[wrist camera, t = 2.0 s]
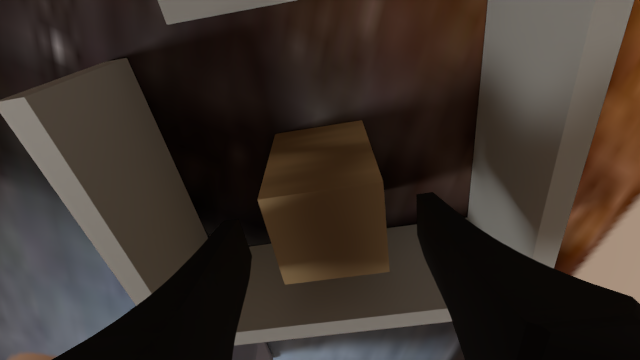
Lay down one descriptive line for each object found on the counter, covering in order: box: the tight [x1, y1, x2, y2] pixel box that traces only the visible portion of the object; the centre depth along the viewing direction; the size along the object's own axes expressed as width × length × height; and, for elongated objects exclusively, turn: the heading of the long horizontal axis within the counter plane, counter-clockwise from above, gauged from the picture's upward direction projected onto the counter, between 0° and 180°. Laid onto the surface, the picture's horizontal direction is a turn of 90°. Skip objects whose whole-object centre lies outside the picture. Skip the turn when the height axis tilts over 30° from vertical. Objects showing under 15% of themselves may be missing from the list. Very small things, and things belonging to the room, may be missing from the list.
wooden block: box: [257, 120, 390, 285], centre depth 15 cm, size 4×4×6 cm
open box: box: [0, 0, 634, 346], centre depth 15 cm, size 18×13×6 cm
